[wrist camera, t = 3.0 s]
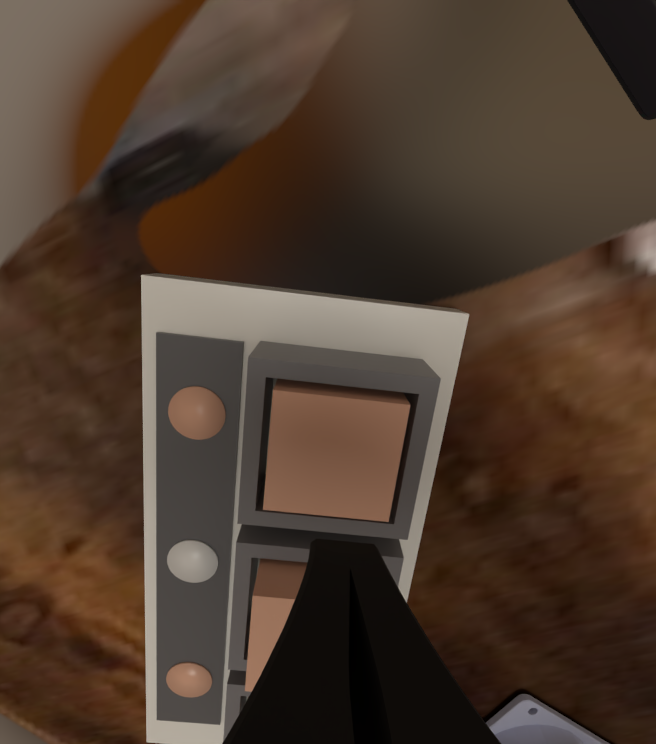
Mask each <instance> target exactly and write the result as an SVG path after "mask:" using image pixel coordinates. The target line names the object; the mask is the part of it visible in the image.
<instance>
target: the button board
mask: <svg viewBox="0 0 656 744" xmlns="http://www.w3.org/2000/svg"><path fill="white" fill-rule="evenodd" d="M141 301H142V387H143V473H144V559H145V646H146V732H147V742H150V743H164V744H222V743H223V742H224V740H225V738H226V737H227V735H228V733H229V731H230V730H231V728H232V726H233V724H234V723H235V721H236V719H237V717H238V716H239V714H240V712H241V710H242V709H243V707H244V705H245V703H246V701H247V700H248V696H250V694H251V692H249V691H245V682H246V670H247V658H248V646H249V634H250V621H251V609H252V597H253V591H254V587H255V582H256V577H257V573H258V568H259V563H260V558H263V559H274V560H285V561H295V562H306V563H308V558H309V551H310V543H311V542H312V541H314V540H315V539H327V540H338V541H348V542H359V543H369V544H374V545H375V546H376V547H377V548H378V550H379V552H380V554H381V556H382V558H383V560H384V562H385V564H386V566H387V568H388V570H389V572H390V574H391V575H392V577H393V579H394V581H395V583H396V585H397V587H398V588H399V590H400V592H401V594H402V596H403V597H404V599H405V601H406V603H407V599H408V595H409V590H410V585H411V581H412V576H413V572H414V567H415V562H416V558H417V553H418V549H419V544H420V539H421V535H422V530H423V525H424V521H425V516H426V512H427V507H428V502H429V498H430V493H431V489H432V484H433V479H434V475H435V470H436V466H437V461H438V456H439V452H440V447H441V443H442V438H443V433H444V429H445V424H446V419H447V415H448V410H449V406H450V401H451V396H452V392H453V387H454V383H455V378H456V373H457V369H458V364H459V360H460V355H461V350H462V346H463V341H464V337H465V332H466V327H467V323H468V318H469V314H468V313H466V312H463V311H461V310H458V309H454V308H445V307H437V306H429V305H420V304H412V303H403V302H395V301H386V300H378V299H369V298H362V297H353V296H345V295H337V294H328V293H320V292H311V291H303V290H295V289H285V288H278V287H270V286H261V285H253V284H244V283H236V282H228V281H219V280H211V279H202V278H194V277H186V276H177V275H169V274H161V273H155V274H145V275H141ZM277 379H287V380H296V381H305V382H314V383H323V384H332V385H341V386H350V387H360V388H369V389H378V390H387V391H396V392H403V393H404V395H405V396H406V398H407V400H408V402H409V403H410V410H409V416H408V421H407V426H406V431H405V437H404V442H403V447H402V453H401V458H400V463H399V469H398V474H397V479H396V485H395V490H394V495H393V501H392V506H391V511H390V517H389V522H384V521H374V520H363V519H353V518H343V517H332V516H322V515H312V514H302V513H291V512H281V511H271V510H263V504H264V492H265V480H266V468H267V456H268V445H269V433H270V421H271V409H272V397H273V389H274V386H275V384H276V381H277Z"/></svg>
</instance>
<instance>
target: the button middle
mask: <svg viewBox="0 0 656 744" xmlns="http://www.w3.org/2000/svg"><path fill="white" fill-rule="evenodd" d="M306 566H307V563H306V562H295V561H285V560H274V559H263V558H260V563H259V568H258V573H257V577H256V582H255V587H254V591H253V597H252V609H251V621H250V634H249V646H248V658H247V670H246V682H245V691H249V692H252V690H253V688H254V687H255V685H256V683H257V681H258V679H259V677H260V675H261V673H262V671H263V669H264V667H265V665H266V663H267V661H268V659H269V657H270V655H271V653H272V651H273V649H274V647H275V644H276V642H277V640H278V638H279V636H280V634H281V632H282V630H283V628H284V625H285V623H286V621H287V618H288V616H289V613H290V611H291V608H292V606H293V603H294V601H295V599H296V596H297V594H298V591H299V588H300V585H301V582H302V579H303V576H304V573H305V570H306Z"/></svg>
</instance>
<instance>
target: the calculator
mask: <svg viewBox="0 0 656 744" xmlns="http://www.w3.org/2000/svg"><path fill="white" fill-rule="evenodd" d="M567 1H568V3H569V4H570V6H571V7H572V9H573V10H574V12H575V13H576V15H577V17H578V18H579V20H580V22H581V23H582V25H583V26H584V28H585V29H586V31H587V33H588V34H589V35H590V37H591V39H592V41H593V42H594V44H595V45H596V47H597V48H598V50H599V52H600V53H601V55H602V56H603V58H604V60H605V61H606V63H607V64H608V66H609V67H610V69H611V71H612V72H613V74H614V75H615V77H616V79H617V80H618V82H619V83H620V85H621V86H622V88H623V90H624V91H625V93H626V94H627V96H628V98H629V99H630V101H631V102H632V104H633V105H634V107H635V109H636V110H637V112H638V113H639V114H640V116H641V117H642V118H643V119H646V120H652V119H656V0H567Z"/></svg>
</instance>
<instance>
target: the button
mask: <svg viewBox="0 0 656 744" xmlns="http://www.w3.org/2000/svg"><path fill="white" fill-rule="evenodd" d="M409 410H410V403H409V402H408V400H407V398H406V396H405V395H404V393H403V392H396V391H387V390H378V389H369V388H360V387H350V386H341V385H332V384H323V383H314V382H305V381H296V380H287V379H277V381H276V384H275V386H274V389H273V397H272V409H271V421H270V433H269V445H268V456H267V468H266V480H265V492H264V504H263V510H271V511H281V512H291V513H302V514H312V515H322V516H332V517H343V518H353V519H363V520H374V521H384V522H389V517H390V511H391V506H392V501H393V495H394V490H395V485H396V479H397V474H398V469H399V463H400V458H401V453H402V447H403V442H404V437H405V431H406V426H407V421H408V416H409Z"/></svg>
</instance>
